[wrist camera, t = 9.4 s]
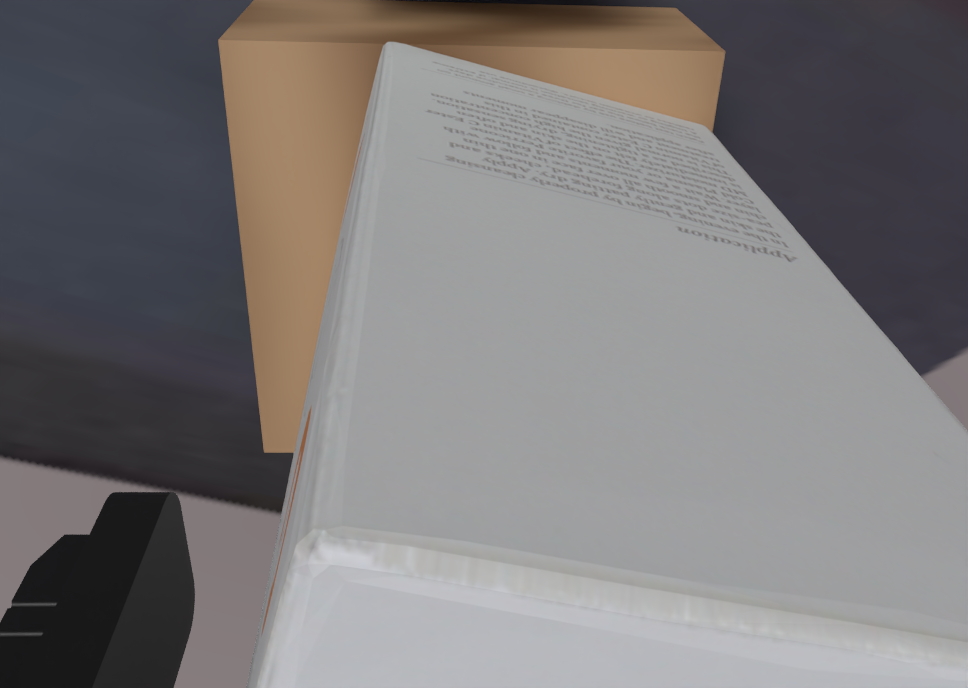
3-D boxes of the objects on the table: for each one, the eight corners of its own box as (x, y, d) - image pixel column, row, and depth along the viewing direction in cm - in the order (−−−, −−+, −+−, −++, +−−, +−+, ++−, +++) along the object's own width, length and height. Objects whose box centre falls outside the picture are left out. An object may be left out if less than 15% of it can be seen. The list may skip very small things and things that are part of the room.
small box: (580, 454, 21) (743, 1196, 10) (304, 399, 20) (136, 1163, 9) (717, 116, 17) (1241, 710, 6) (383, 25, 16) (263, 544, 5)
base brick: (675, 8, 20) (725, 51, 17) (629, 360, 25) (660, 452, 21) (256, -3, 20) (218, 40, 16) (288, 358, 24) (264, 452, 21)
